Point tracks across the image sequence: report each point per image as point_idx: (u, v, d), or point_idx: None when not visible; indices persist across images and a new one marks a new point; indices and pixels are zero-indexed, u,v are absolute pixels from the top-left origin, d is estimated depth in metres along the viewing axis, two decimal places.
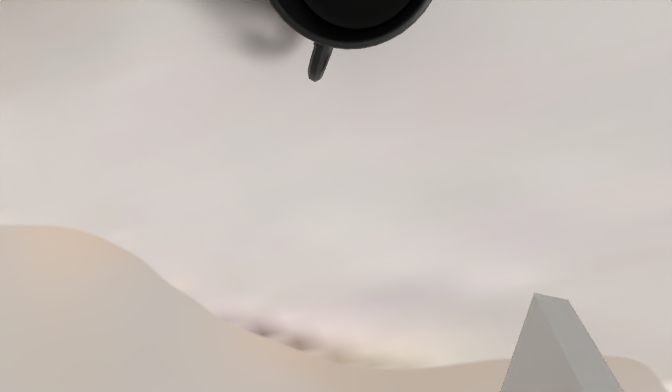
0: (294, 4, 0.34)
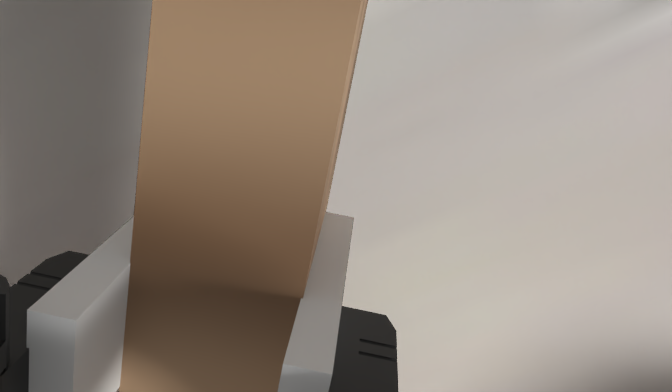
0: None
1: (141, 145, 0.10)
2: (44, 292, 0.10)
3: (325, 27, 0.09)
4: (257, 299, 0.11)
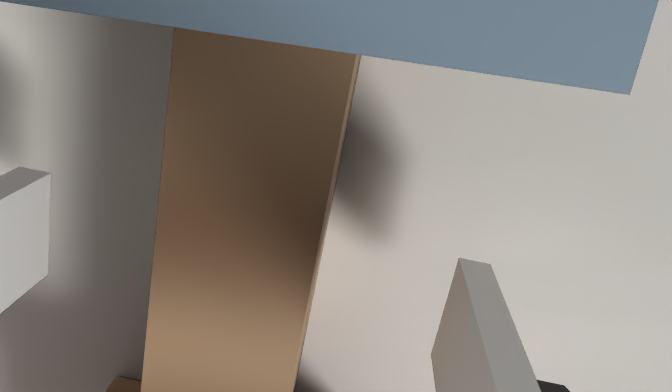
0: None
1: (165, 138, 0.11)
2: None
3: None
4: (270, 278, 0.12)
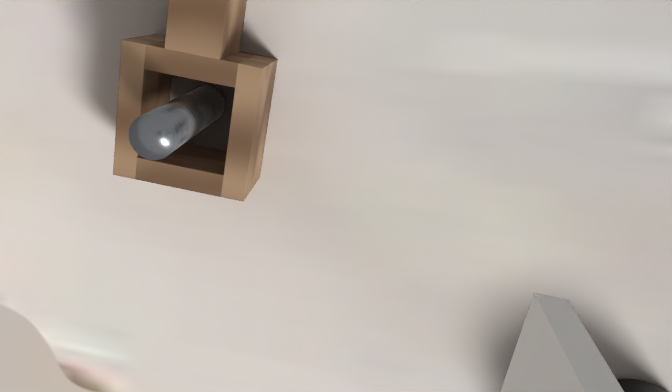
0: None
1: None
2: None
3: None
4: None
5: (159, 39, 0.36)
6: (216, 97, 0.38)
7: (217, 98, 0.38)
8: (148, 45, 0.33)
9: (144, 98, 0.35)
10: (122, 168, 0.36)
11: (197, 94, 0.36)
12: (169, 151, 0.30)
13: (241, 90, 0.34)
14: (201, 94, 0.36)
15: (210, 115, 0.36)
